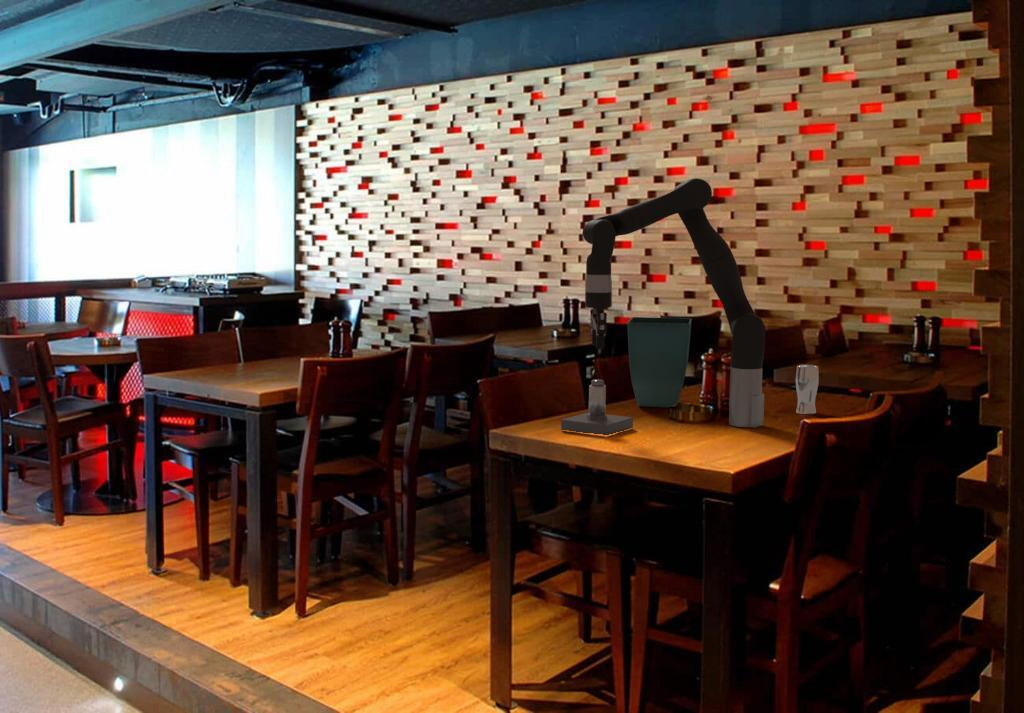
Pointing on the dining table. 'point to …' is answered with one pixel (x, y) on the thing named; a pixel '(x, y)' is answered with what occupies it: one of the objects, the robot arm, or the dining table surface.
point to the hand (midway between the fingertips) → (598, 347)
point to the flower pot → (658, 359)
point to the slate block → (597, 424)
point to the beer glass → (806, 388)
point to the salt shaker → (597, 400)
